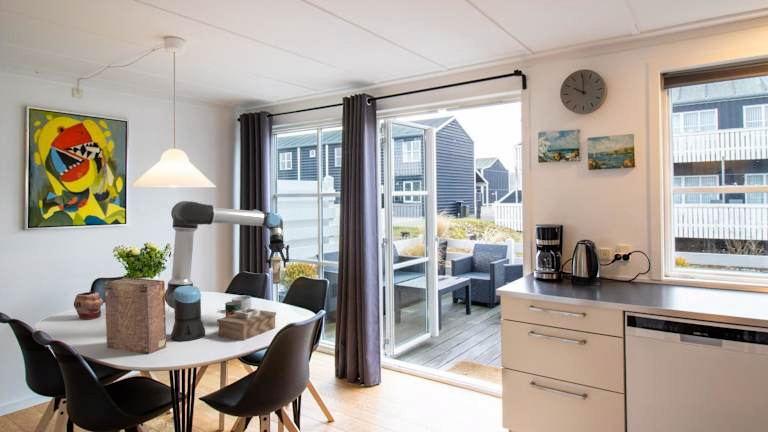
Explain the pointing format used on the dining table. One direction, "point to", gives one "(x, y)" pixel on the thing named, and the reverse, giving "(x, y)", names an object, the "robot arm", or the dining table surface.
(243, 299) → the teacup
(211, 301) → the dining table surface
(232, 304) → the canned tomato
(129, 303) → the brown upright block
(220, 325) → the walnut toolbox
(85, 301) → the decorative planter
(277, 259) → the beech peg
